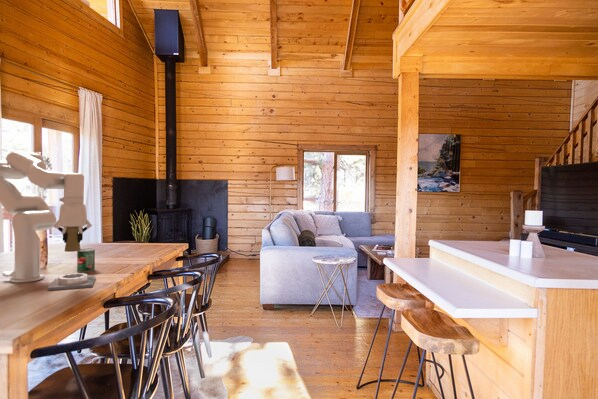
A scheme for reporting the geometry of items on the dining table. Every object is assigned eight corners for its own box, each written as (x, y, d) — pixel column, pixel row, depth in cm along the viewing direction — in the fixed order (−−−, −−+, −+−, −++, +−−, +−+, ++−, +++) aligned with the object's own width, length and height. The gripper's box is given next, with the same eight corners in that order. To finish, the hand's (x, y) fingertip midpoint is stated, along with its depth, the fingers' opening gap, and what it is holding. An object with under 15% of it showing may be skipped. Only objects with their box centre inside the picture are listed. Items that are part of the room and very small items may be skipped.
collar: (47, 290, 147) (47, 281, 147) (55, 281, 161) (55, 273, 161) (91, 287, 154) (91, 278, 154) (95, 278, 168) (95, 270, 168)
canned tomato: (97, 269, 188) (98, 248, 187) (88, 272, 180) (88, 251, 180) (83, 268, 188) (83, 248, 188) (73, 272, 180) (73, 250, 180)
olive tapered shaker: (83, 249, 160) (83, 225, 160) (75, 251, 154) (75, 226, 154) (70, 249, 160) (70, 224, 160) (61, 251, 154) (61, 226, 154)
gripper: (48, 201, 150) (47, 244, 150) (94, 201, 157) (93, 243, 157) (52, 200, 156) (51, 241, 157) (96, 201, 163) (95, 240, 164)
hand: (72, 241), depth 157 cm, fingers closed on olive tapered shaker, 4 cm apart
